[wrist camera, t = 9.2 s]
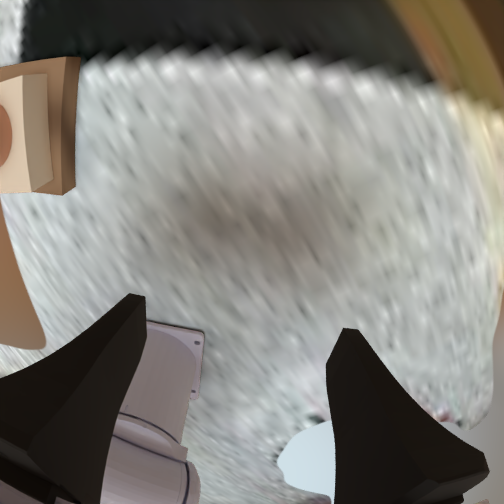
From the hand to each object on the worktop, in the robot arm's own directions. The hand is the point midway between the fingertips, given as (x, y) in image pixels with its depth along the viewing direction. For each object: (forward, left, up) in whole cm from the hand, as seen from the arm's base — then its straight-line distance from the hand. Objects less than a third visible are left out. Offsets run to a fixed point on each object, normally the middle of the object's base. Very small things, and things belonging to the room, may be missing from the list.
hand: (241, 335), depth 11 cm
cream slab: (+5, +17, -9) cm, 20 cm away
